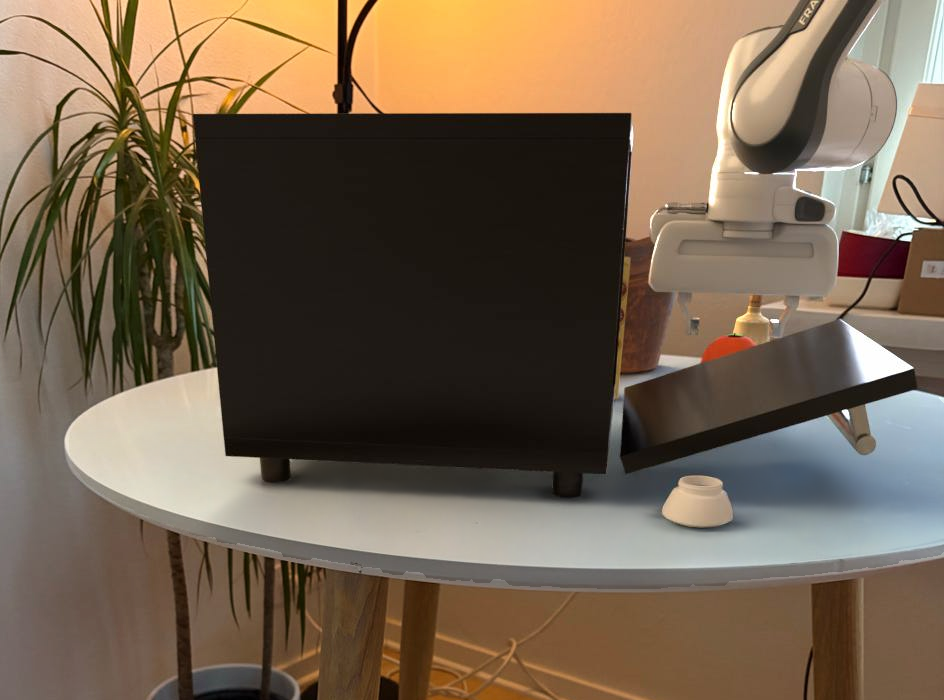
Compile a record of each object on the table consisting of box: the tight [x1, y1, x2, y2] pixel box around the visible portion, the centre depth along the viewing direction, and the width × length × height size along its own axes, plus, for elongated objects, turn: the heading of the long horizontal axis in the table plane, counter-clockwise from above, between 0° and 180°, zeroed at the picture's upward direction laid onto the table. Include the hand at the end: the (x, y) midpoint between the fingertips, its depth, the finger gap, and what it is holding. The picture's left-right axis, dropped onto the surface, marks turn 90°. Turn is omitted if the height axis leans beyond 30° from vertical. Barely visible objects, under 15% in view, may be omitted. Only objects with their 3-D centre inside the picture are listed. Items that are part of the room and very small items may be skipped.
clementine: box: [700, 333, 757, 363], centre depth 114 cm, size 8×7×7 cm
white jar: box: [661, 475, 734, 529], centre depth 71 cm, size 5×3×5 cm
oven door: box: [619, 318, 918, 476], centre depth 85 cm, size 7×28×21 cm
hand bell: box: [732, 295, 771, 345], centre depth 136 cm, size 8×8×16 cm
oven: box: [192, 112, 634, 499], centre depth 85 cm, size 30×30×26 cm
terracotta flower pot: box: [620, 236, 678, 373], centre depth 129 cm, size 18×20×18 cm
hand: (733, 336), depth 112 cm, fingers open, 8 cm apart
